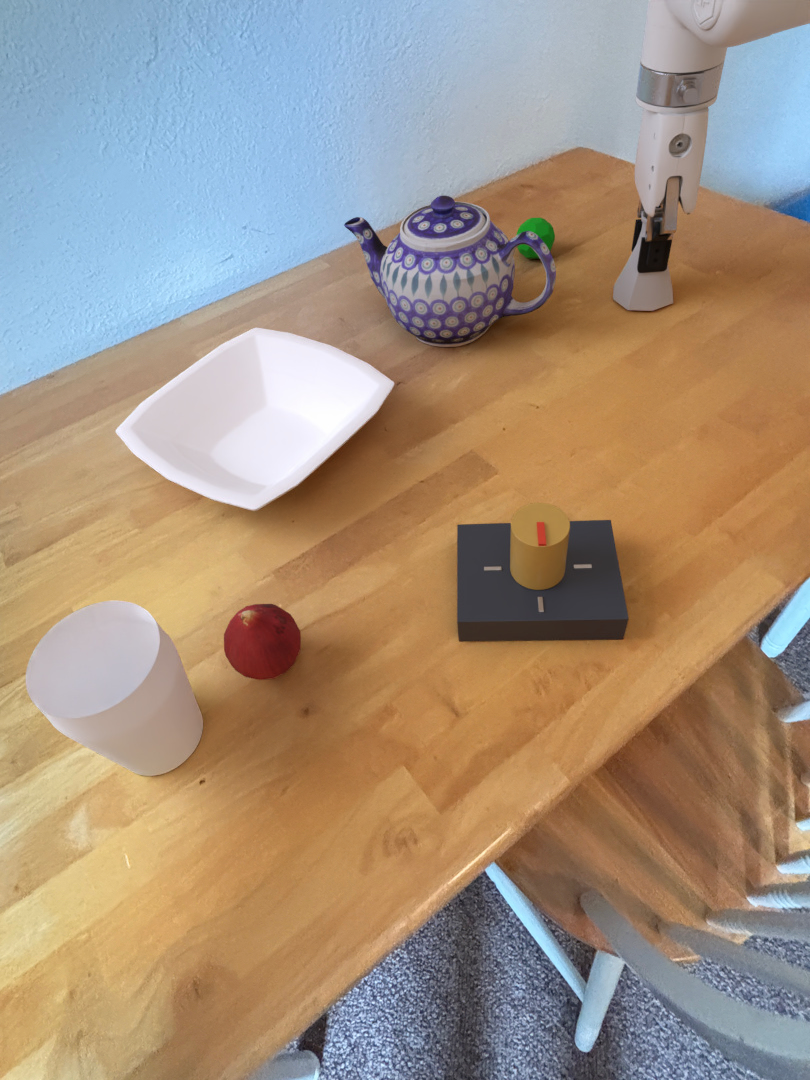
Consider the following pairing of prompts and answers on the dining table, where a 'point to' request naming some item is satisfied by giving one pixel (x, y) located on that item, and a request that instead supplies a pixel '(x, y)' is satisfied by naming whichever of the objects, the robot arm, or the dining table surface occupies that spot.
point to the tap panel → (539, 615)
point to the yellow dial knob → (539, 545)
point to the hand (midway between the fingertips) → (648, 260)
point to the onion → (262, 641)
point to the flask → (642, 282)
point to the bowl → (255, 416)
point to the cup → (117, 687)
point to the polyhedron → (540, 229)
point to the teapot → (449, 271)
